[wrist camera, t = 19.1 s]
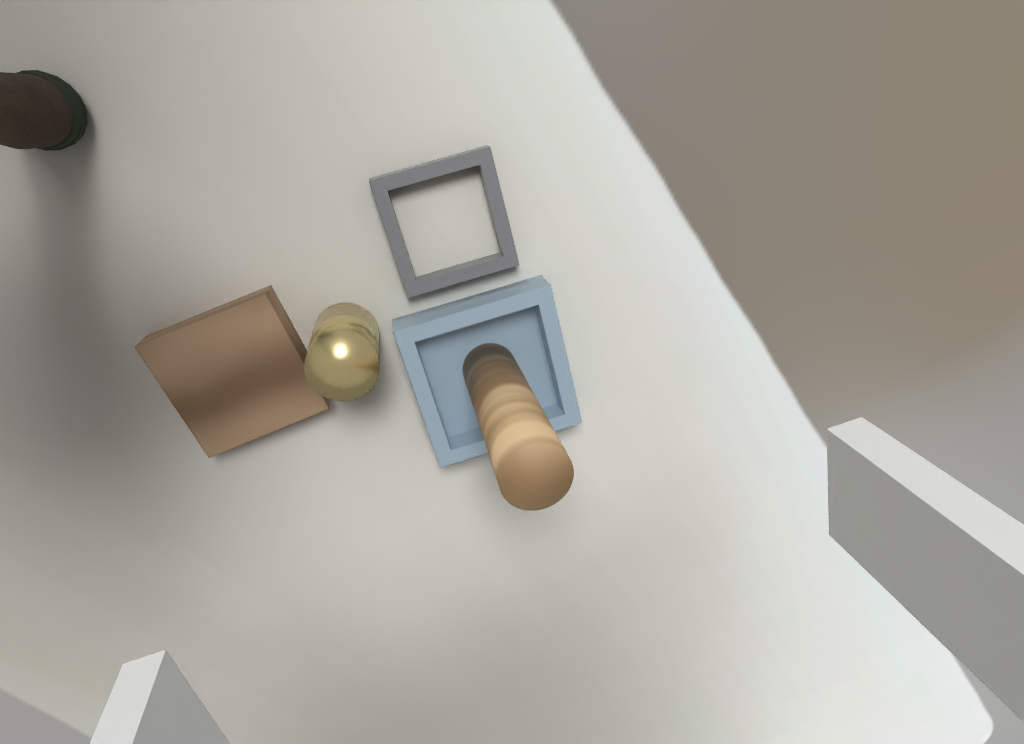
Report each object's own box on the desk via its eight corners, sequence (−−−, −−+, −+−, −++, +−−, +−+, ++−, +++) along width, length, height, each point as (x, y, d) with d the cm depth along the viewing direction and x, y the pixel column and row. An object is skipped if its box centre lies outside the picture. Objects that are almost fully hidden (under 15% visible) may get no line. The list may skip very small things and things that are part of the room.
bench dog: (304, 313, 40) (292, 346, 34) (366, 294, 40) (365, 324, 35) (327, 370, 42) (319, 410, 36) (387, 352, 42) (388, 388, 36)
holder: (369, 178, 38) (369, 180, 37) (486, 145, 38) (490, 146, 37) (407, 293, 41) (407, 298, 40) (515, 260, 41) (519, 265, 40)
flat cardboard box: (149, 333, 39) (134, 347, 37) (272, 283, 39) (265, 294, 37) (218, 439, 42) (208, 458, 40) (331, 392, 43) (328, 408, 40)
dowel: (456, 352, 42) (490, 457, 29) (508, 336, 42) (565, 434, 30) (470, 399, 44) (509, 519, 31) (520, 384, 44) (580, 496, 31)
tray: (392, 319, 41) (393, 332, 39) (541, 275, 42) (550, 285, 40) (437, 449, 45) (440, 467, 43) (572, 406, 46) (582, 422, 44)
